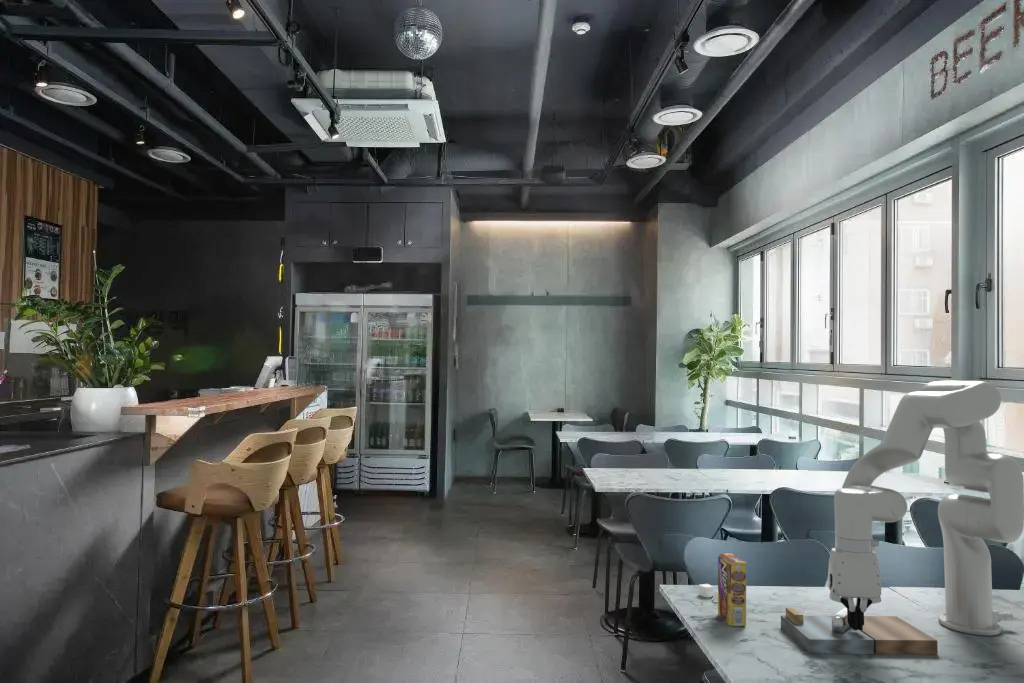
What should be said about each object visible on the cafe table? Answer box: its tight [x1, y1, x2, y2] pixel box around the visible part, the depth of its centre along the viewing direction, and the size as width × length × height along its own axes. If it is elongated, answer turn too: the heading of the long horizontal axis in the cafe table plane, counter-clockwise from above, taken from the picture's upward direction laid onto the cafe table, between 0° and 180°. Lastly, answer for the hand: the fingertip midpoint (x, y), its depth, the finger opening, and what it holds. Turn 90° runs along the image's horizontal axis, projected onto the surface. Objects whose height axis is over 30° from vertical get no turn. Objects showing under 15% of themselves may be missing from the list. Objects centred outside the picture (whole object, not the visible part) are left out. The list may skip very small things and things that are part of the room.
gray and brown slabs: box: [780, 607, 939, 655], centre depth 151 cm, size 28×15×5 cm, turn 91°
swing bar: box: [831, 603, 856, 633], centre depth 152 cm, size 13×3×3 cm, turn 136°
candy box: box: [717, 553, 747, 627], centre depth 164 cm, size 9×4×15 cm, turn 2°
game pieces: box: [697, 583, 718, 601], centre depth 178 cm, size 12×3×3 cm, turn 20°
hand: (855, 628), depth 148 cm, fingers closed
